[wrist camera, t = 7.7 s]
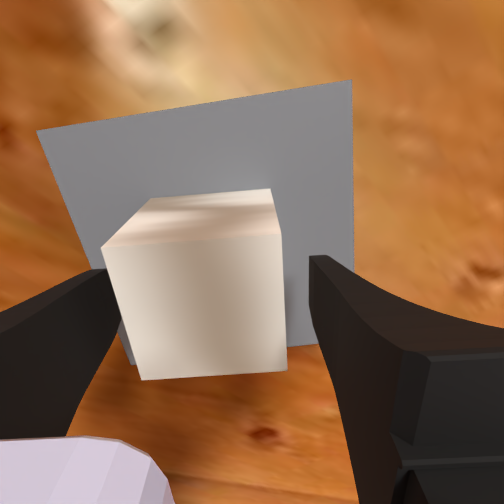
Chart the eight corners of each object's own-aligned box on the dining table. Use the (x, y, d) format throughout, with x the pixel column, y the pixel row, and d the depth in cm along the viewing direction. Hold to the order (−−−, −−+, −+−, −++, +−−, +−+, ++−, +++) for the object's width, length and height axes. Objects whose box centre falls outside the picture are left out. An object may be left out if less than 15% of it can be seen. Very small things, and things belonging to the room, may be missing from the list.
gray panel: (151, 319, 21) (131, 365, 17) (84, 124, 16) (35, 130, 12) (336, 296, 20) (355, 339, 17) (327, 84, 15) (352, 79, 12)
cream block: (172, 298, 16) (141, 380, 11) (150, 198, 13) (100, 247, 9) (276, 291, 15) (287, 370, 11) (270, 188, 13) (281, 233, 9)
